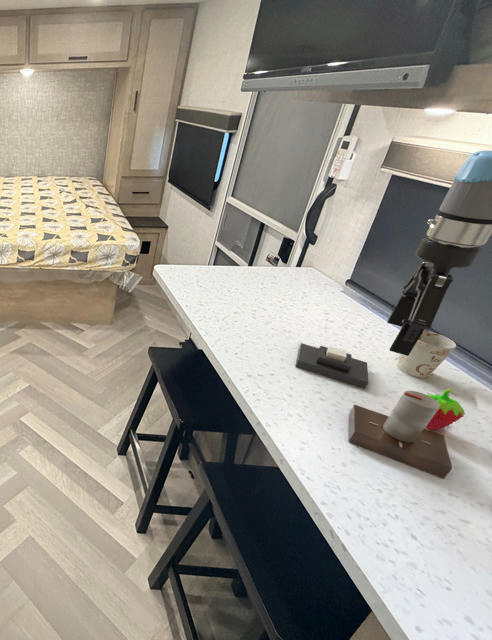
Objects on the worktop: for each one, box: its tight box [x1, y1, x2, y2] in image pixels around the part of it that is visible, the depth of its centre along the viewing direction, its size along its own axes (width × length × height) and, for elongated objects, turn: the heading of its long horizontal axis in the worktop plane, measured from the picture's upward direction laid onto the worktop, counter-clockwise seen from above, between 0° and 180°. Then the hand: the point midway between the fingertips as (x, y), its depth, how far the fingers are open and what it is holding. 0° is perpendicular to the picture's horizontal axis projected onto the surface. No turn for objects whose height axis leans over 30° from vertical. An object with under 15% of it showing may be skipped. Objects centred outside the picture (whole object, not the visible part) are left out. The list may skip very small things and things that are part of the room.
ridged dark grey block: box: [294, 342, 369, 390], centre depth 103 cm, size 14×10×4 cm
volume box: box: [348, 404, 453, 479], centre depth 81 cm, size 14×10×3 cm
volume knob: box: [383, 390, 440, 443], centre depth 78 cm, size 5×5×9 cm
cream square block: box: [326, 345, 347, 362], centre depth 101 cm, size 4×4×2 cm
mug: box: [396, 329, 457, 379], centre depth 102 cm, size 8×13×10 cm, turn 163°
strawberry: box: [425, 388, 466, 431], centre depth 83 cm, size 6×7×10 cm
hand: (396, 337), depth 82 cm, fingers open, 13 cm apart
